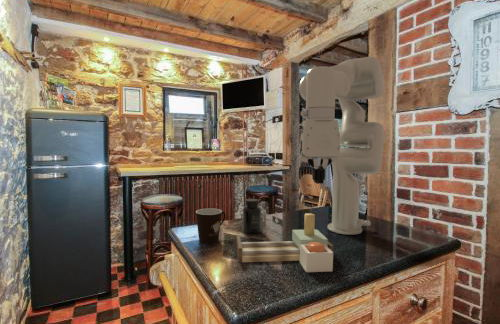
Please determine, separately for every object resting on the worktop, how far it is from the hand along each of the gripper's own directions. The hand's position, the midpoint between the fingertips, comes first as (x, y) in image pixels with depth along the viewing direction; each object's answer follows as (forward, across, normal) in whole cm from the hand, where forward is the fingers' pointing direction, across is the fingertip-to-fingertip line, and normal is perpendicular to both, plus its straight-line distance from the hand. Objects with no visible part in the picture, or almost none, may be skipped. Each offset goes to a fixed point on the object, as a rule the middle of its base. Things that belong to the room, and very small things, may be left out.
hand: (318, 182), depth 75 cm
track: (+22, -9, +5) cm, 24 cm away
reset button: (+19, -2, -4) cm, 20 cm away
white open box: (+22, -2, -4) cm, 22 cm away
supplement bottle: (+23, -16, +26) cm, 38 cm away
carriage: (+20, -1, +5) cm, 20 cm away
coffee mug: (+22, -30, +18) cm, 41 cm away
